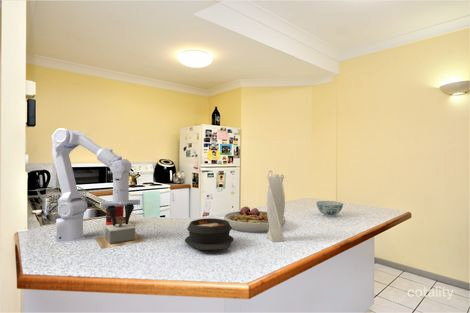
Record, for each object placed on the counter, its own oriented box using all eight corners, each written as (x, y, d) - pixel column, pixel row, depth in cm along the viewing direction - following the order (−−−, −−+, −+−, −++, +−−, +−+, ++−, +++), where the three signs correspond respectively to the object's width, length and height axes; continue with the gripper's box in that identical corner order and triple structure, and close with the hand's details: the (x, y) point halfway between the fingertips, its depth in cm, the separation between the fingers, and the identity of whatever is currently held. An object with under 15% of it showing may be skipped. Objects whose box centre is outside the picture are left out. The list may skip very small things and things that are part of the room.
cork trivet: (101, 250, 94) (101, 248, 94) (94, 239, 107) (94, 238, 107) (147, 242, 103) (147, 241, 103) (135, 233, 116) (135, 232, 116)
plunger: (112, 240, 100) (112, 220, 100) (108, 236, 106) (109, 217, 106) (131, 237, 104) (132, 218, 105) (127, 233, 110) (127, 215, 110)
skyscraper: (262, 237, 111) (262, 170, 112) (278, 236, 114) (278, 170, 114) (271, 243, 104) (272, 171, 104) (288, 241, 106) (288, 170, 107)
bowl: (297, 231, 124) (297, 214, 124) (237, 237, 113) (237, 218, 113) (266, 218, 152) (266, 204, 152) (216, 222, 141) (216, 207, 141)
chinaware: (345, 215, 161) (345, 202, 161) (340, 219, 148) (340, 205, 148) (319, 212, 169) (319, 200, 169) (313, 216, 156) (313, 203, 156)
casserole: (183, 236, 112) (183, 216, 112) (226, 234, 117) (226, 214, 117) (186, 257, 88) (187, 231, 88) (241, 253, 92) (241, 228, 93)
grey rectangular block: (110, 244, 99) (110, 230, 99) (105, 238, 106) (105, 225, 106) (137, 240, 105) (137, 226, 105) (131, 234, 112) (131, 222, 112)
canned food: (126, 223, 135) (126, 201, 135) (117, 227, 127) (118, 204, 127) (111, 223, 135) (112, 201, 136) (102, 227, 127) (102, 203, 128)
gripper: (102, 192, 98) (101, 229, 98) (142, 189, 107) (142, 224, 106) (99, 190, 104) (98, 225, 104) (137, 188, 112) (137, 220, 112)
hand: (120, 224), depth 105 cm, fingers closed on plunger, 4 cm apart
